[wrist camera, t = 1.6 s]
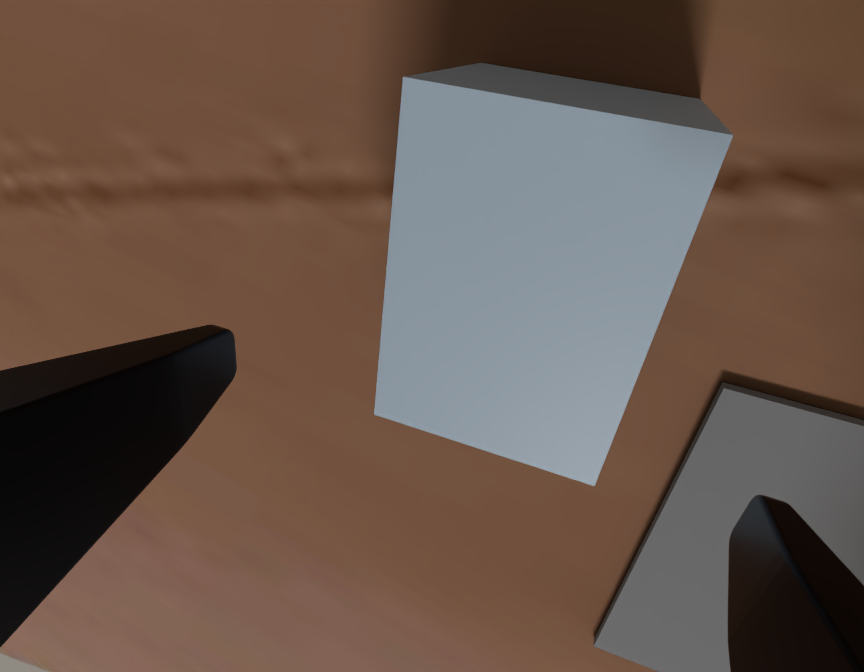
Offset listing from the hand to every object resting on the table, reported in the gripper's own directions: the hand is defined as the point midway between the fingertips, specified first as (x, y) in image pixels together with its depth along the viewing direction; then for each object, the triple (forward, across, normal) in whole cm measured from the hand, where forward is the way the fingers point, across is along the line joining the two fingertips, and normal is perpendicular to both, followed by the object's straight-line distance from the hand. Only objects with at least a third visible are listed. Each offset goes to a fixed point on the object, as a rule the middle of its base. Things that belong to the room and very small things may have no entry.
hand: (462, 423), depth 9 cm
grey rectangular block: (+11, 0, 0) cm, 11 cm away
